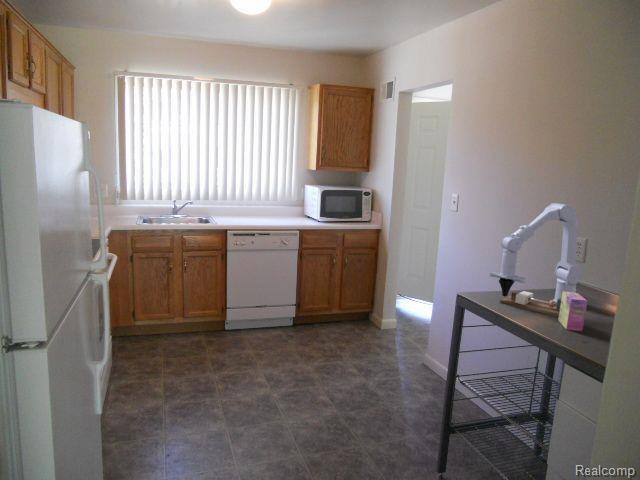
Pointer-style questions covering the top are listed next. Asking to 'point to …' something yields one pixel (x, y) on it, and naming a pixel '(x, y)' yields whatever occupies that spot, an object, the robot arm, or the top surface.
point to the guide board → (530, 305)
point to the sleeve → (523, 297)
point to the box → (572, 311)
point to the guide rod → (541, 301)
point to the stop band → (551, 303)
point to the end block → (558, 304)
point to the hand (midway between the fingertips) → (504, 295)
